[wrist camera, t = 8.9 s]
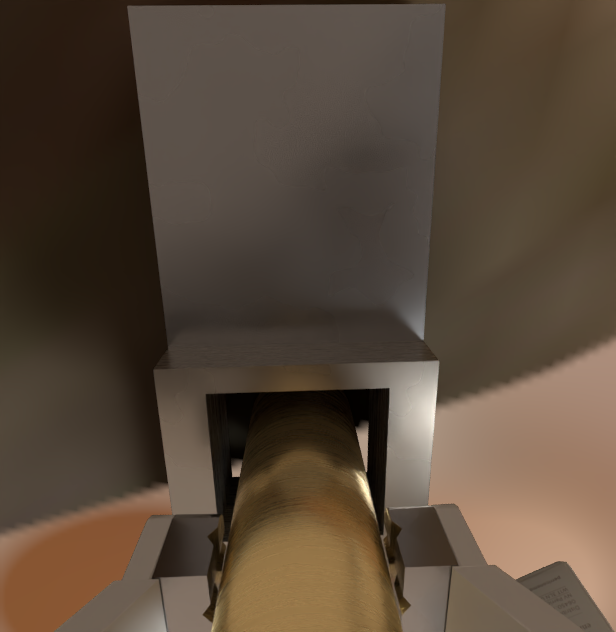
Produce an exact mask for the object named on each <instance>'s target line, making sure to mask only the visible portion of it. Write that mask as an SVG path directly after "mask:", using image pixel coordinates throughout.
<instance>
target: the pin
mask: <svg viewBox="0 0 616 632" xmlns="http://www.w3.org/2000/svg"><path fill="white" fill-rule="evenodd" d="M211 632H403V630H402V625H401V621H400V617H399V613H398V608H397V604H396V600H395V595H394V591H393V587H392V583H391V578H390V574H389V570H388V566H387V561H386V557H385V553H384V548H383V544H382V540H381V536H380V531H379V527H378V523H377V519H376V514H375V510H374V506H373V501H372V497H371V493H370V489H369V484H368V480H367V476H366V472H365V467H364V463H363V459H362V455H361V450H360V446H359V442H358V437H357V433H356V429H355V425H354V420H353V416H352V412H351V407H350V404H349V401H348V399H347V397H346V395H345V393H344V392H343V391H342V390H312V391H280V392H260V393H259V394H258V396H257V398H256V400H255V402H254V405H253V408H252V414H251V419H250V424H249V430H248V435H247V441H246V446H245V451H244V457H243V462H242V468H241V473H240V479H239V484H238V489H237V495H236V500H235V506H234V511H233V516H232V522H231V527H230V533H229V538H228V544H227V549H226V554H225V560H224V565H223V571H222V576H221V581H220V587H219V592H218V598H217V603H216V609H215V614H214V619H213V625H212V630H211Z"/></svg>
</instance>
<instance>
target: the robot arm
mask: <svg viewBox="0 0 616 632" xmlns="http://www.w3.org/2000/svg"><path fill="white" fill-rule="evenodd" d="M384 525H385V529H386V533H387V536H386V537H385V538H384V539H383V548H384V553H385V557H386V561H387V566H388V570H389V574H390V578H391V583H392V587H393V591H394V595H395V600H396V604H397V608H398V613H399V617H400V621H401V625H402V630H403V632H585V631H584V630H583V629H581V628H580V627H579V626H577V625H576V624H574V623H573V622H572V621H570V620H569V619H568V618H566V617H565V616H564V615H562V614H561V613H559V612H558V611H557V610H555V609H554V608H553V607H551V606H550V605H549V604H547V603H546V602H545V601H543V600H542V599H540V598H539V597H538V596H536V595H535V594H534V593H532V592H531V591H530V590H528V589H527V588H525V587H524V586H523V585H521V584H520V583H519V582H517V581H516V580H515V579H513V578H512V577H511V576H509V575H508V574H506V573H505V572H503V571H502V570H501V569H500V568H498V567H497V566H495V565H487V563H486V561H485V559H484V557H483V555H482V553H481V551H480V549H479V547H478V545H477V543H476V541H475V539H474V537H473V535H472V533H471V531H470V529H469V527H468V526H467V523H466V521H465V520H464V518H463V516H462V514H461V512H460V510H459V508H458V506H456V505H455V504H441V505H431V506H410V507H388V508H385V512H384ZM224 530H225V527H224V519H223V515H222V514H176V515H152V516H151V517H150V518H149V519H148V520H147V522H146V524H145V526H144V529H143V531H142V534H141V536H140V538H139V540H138V543H137V545H136V548H135V550H134V553H133V555H132V557H131V559H130V562H129V564H128V567H127V569H126V571H125V574H124V576H123V579H122V581H113V582H112V583H111V584H110V585H109V586H107V587H106V588H105V589H104V590H103V591H102V592H100V593H99V594H98V595H97V596H96V597H94V598H93V599H92V600H91V601H90V602H88V603H87V604H86V605H85V606H84V607H83V608H82V609H80V610H79V611H78V612H77V613H76V614H74V615H73V616H72V617H71V618H70V619H68V620H67V621H66V622H65V623H64V624H63V625H61V626H60V627H59V628H58V629H56V630H55V631H54V632H211V630H212V625H213V619H214V614H215V609H216V603H217V598H218V592H219V587H220V581H221V576H222V571H223V565H224V560H225V554H226V545H225V544H224V543H223V542H222V541H223V536H224Z"/></svg>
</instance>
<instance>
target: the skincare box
mask: <svg viewBox="0 0 616 632" xmlns="http://www.w3.org/2000/svg"><path fill="white" fill-rule="evenodd" d="M516 581H517V582H519V583H520V584H521V585H523V586H524V587H525V588H527V589H528V590H530V591H531V592H532V593H534V594H535V595H536V596H538V597H539V598H540V599H542V600H543V601H545V602H546V603H547V604H549V605H550V606H551V607H553V608H554V609H555V610H557V611H558V612H559V613H561V614H562V615H564V616H565V617H566V618H568V619H569V620H570V621H572V622H573V623H574V624H576V625H577V626H579V627H580V628H581V629H583V630H584V631H585V632H614V630H613V629H612V627H611V626H610V624H609V623H608V621H607V620H606V618H605V617H604V615H603V614H602V612H601V611H600V610H599V608H598V607H597V605H596V604H595V602H594V601H593V599H592V598H591V596H590V595H589V593H588V592H587V590H586V589H585V588H584V586H583V585H582V583H581V582H580V580H579V579H578V577H577V576H576V574H575V573H574V571H573V570H572V568H571V567H570V566H569V565H568V564H567V562H560V561H559V562H555V563H553V564H551V565H548V566H546V567H543V568H541V569H539V570H536V571H534V572H532V573H529V574H527V575H525V576H523V577H520V578H518V579H516Z"/></svg>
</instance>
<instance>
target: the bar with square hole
mask: <svg viewBox="0 0 616 632" xmlns="http://www.w3.org/2000/svg"><path fill="white" fill-rule="evenodd" d="M445 5H446V4H352V5H187V6H127V8H128V17H129V25H130V33H131V42H132V50H133V58H134V67H135V75H136V83H137V92H138V100H139V108H140V117H141V125H142V133H143V142H144V150H145V158H146V167H147V175H148V183H149V192H150V200H151V209H152V217H153V225H154V234H155V242H156V250H157V259H158V267H159V275H160V284H161V292H162V300H163V309H164V317H165V325H166V334H167V342H168V349H167V350H166V352H165V353H164V355H163V356H162V357H161V359H160V360H159V362H158V363H157V365H156V366H155V367H154V369H153V373H154V381H155V388H156V396H157V403H158V411H159V418H160V426H161V433H162V441H163V448H164V456H165V463H166V471H167V478H168V486H169V493H170V501H171V508H172V515H176V514H222V515H223V519H224V527H225V530H224V536H223V541H222V542H223V543H224V544H225V545H226V549H227V544H228V538H229V533H230V527H231V522H232V516H233V511H234V506H235V500H236V495H237V489H238V484H239V479H240V477H232V468H231V456H230V443H229V431H228V419H227V406H226V394H225V393H248V392H280V391H312V390H343V389H370V394H369V429H368V465H367V472H366V476H367V480H368V484H369V489H370V493H371V497H372V501H373V506H374V510H375V514H376V519H377V523H378V527H379V531H380V536H381V540H382V544H383V539H384V538H385V537H386V536H387V533H386V529H385V525H384V512H385V508H388V507H410V506H428V497H429V484H430V471H431V459H432V446H433V434H434V433H433V432H434V421H435V409H436V396H437V383H438V371H439V360H438V359H437V357H436V356H435V355H434V354H433V352H432V351H431V350H430V349H429V347H428V346H427V345H426V344H425V342H424V341H423V337H424V322H425V307H426V292H427V277H428V261H429V246H430V231H431V216H432V201H433V186H434V171H435V156H436V141H437V126H438V111H439V96H440V81H441V65H442V50H443V35H444V20H445Z"/></svg>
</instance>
